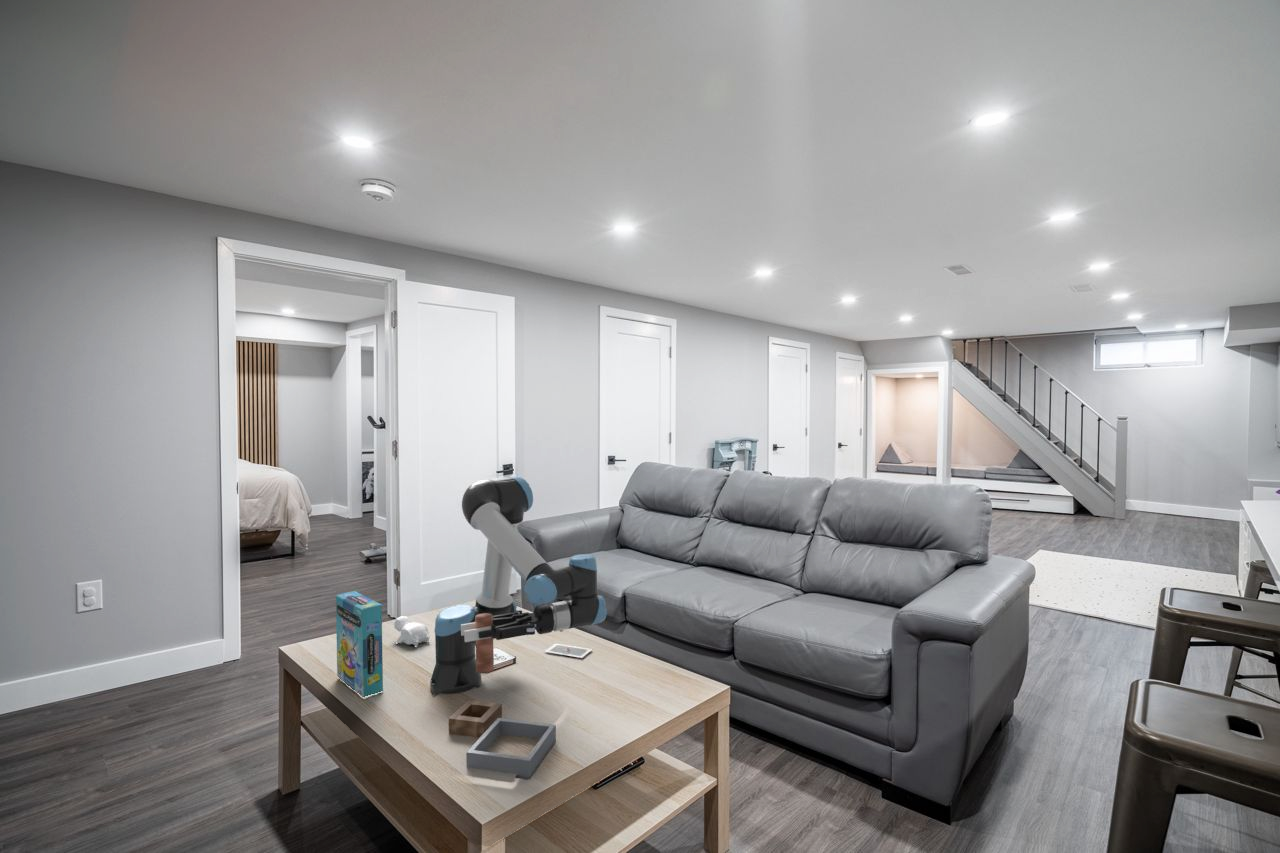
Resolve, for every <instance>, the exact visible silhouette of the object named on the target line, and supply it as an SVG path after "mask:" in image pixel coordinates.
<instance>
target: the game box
mask: <svg viewBox="0 0 1280 853" xmlns="http://www.w3.org/2000/svg"><path fill="white" fill-rule="evenodd" d="M335 604H336V605H335V609H336V611H335V612H336V613H335V614H336V616H335V617H336V618H335V620H336V677H337V676H338V677H339V678H340V679H341V680H342V681H344V682H345V683H346V684H347V685H348V686H350V687H351V688H352V689H353V690H355V691H356V692H357V693H359V694H360V695H361V696H362V697H365V696H368V695H371V694H375V693H378V692H381V691H383V692H384V684H383V683H384V680H383V679H384V678H383V677H384V674H383V673H384V672H383V671H384V670H383V665H384V664H383V604H382V603H379V602H377V601H375V600H373V599H371V598H370V597H367V596H366V595H363V594H361V593H360V592H357V591H355V590H354V591H349V592H348V591H347V592H344V593H340V594H336V595H335Z"/></svg>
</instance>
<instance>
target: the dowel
mask: <svg viewBox="0 0 1280 853" xmlns="http://www.w3.org/2000/svg"><path fill="white" fill-rule="evenodd" d="M492 624H493V615H492V614H490V613H483V614H478V615H476V616H475V629H477V628H482V627H488V626H491V629H492ZM494 655H495V654H494V639H493V638H492V637H491V638H486V639H480V640H476V646H475V659H476V672H478V673H481V674H489V673H491V672H493V671H494V669H495V664H494V663H495V659H494Z"/></svg>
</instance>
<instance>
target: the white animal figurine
mask: <svg viewBox="0 0 1280 853" xmlns="http://www.w3.org/2000/svg"><path fill="white" fill-rule="evenodd" d="M393 625H394V629H395V630H397V631H398V632H400V636H399V637H398V638H397V639H396V640H395V643H396V642H397V643H400V644H402V643H405V644H406V645H414V647H415V646H417V647H418V646H419V644H418V643H420V644H421V643H422V642H423V643H424V642H425V643H426V642H428V641H429V642H430V637H431V636H430V632H429V629H428V627H427V626H426V625H425V624H423V623H420V622H411V621H410V619H409V617H408V616H406V615H403V616H402V615H401V616H399V617H397V618H395V620H394V624H393ZM429 642H428V643H429Z"/></svg>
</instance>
